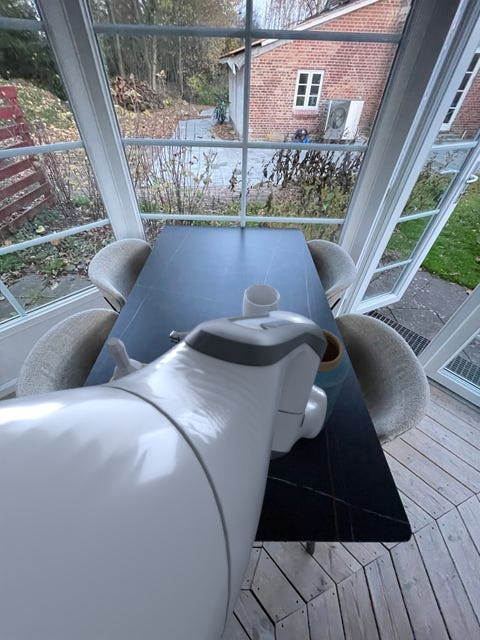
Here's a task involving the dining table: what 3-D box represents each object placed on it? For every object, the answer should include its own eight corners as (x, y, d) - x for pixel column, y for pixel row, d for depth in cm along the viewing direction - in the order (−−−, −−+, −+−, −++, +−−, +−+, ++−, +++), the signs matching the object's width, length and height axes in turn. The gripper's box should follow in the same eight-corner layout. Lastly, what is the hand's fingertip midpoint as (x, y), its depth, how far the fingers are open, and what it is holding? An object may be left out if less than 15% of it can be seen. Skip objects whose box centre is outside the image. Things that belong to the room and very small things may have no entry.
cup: (240, 358, 82) (242, 307, 66) (240, 333, 89) (242, 282, 74) (274, 358, 82) (284, 307, 67) (271, 333, 89) (279, 282, 74)
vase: (338, 433, 66) (380, 374, 47) (275, 445, 64) (293, 387, 45) (313, 377, 78) (340, 311, 59) (259, 386, 75) (268, 320, 56)
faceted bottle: (153, 383, 74) (132, 331, 58) (146, 405, 70) (121, 354, 54) (131, 381, 74) (104, 329, 59) (122, 402, 70) (91, 351, 54)
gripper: (249, 325, 49) (184, 305, 53) (195, 426, 36) (113, 390, 39) (247, 347, 54) (187, 327, 57) (199, 443, 40) (125, 410, 44)
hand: (156, 353), depth 48 cm, fingers open, 8 cm apart
